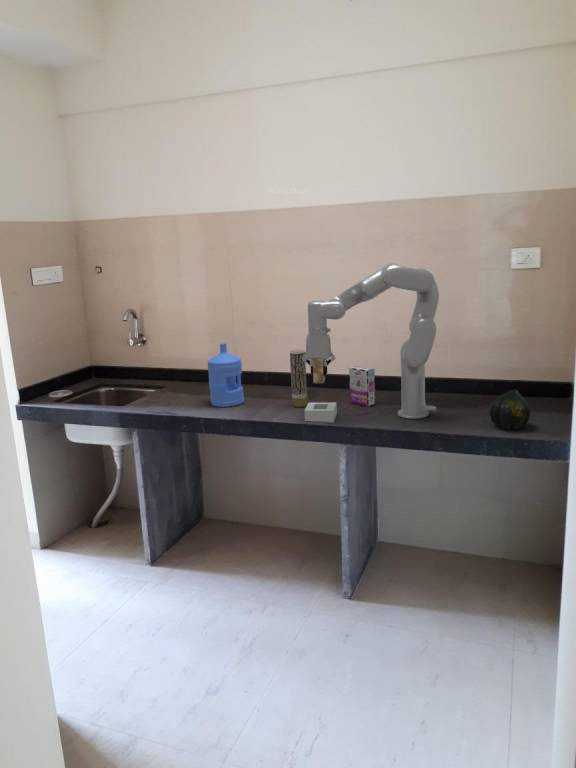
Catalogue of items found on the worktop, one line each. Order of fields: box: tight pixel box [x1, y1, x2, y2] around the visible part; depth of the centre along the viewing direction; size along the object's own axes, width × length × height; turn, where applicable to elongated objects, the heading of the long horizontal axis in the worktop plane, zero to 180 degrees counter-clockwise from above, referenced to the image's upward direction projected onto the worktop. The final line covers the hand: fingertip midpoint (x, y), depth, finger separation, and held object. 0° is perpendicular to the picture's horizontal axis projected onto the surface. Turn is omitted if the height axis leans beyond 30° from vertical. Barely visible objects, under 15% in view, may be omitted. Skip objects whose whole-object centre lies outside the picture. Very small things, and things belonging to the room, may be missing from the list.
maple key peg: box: [312, 359, 326, 384], centre depth 262 cm, size 4×6×10 cm, turn 170°
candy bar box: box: [348, 365, 376, 407], centre depth 283 cm, size 11×5×16 cm, turn 42°
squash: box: [489, 388, 531, 431], centre depth 243 cm, size 14×15×15 cm
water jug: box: [207, 343, 245, 408], centre depth 294 cm, size 16×16×28 cm
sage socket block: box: [303, 402, 338, 423], centre depth 266 cm, size 12×12×5 cm
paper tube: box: [289, 349, 308, 408], centre depth 284 cm, size 7×7×25 cm
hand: (319, 374), depth 263 cm, fingers closed on maple key peg, 4 cm apart
